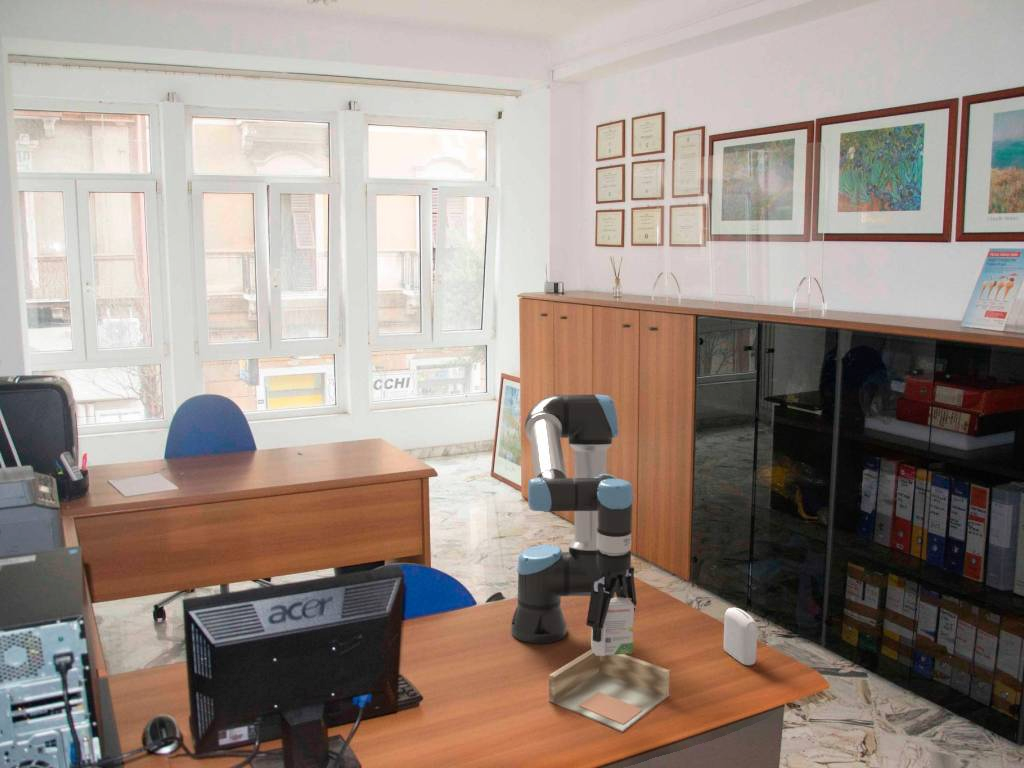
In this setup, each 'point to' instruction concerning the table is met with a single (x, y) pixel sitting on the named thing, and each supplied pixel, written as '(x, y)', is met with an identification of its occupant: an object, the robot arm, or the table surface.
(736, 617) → the photo printer
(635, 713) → the pad
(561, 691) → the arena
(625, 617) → the ink box
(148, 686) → the table surface
